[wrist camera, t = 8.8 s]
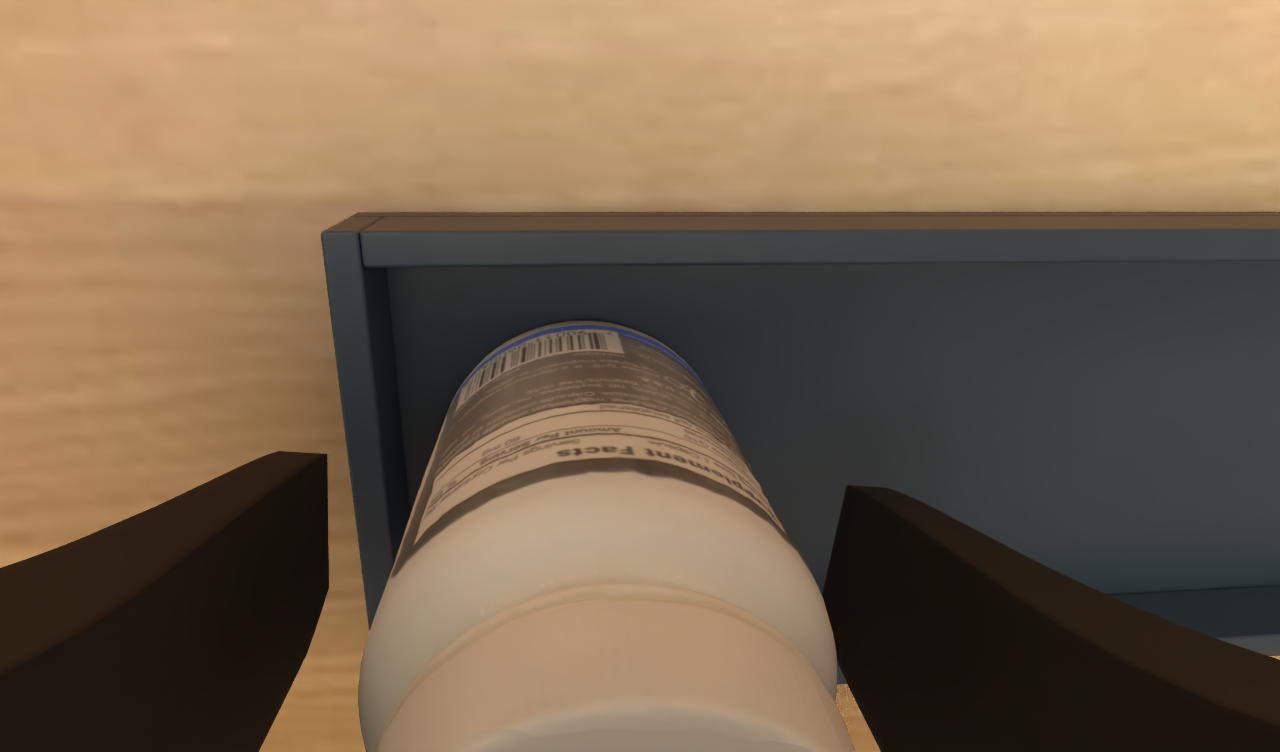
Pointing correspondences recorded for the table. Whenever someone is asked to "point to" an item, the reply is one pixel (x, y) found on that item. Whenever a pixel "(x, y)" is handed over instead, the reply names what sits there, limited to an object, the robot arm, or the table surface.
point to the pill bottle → (595, 572)
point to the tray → (881, 372)
